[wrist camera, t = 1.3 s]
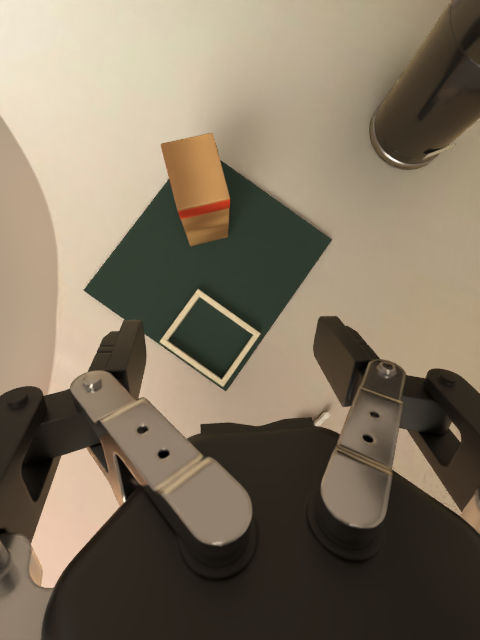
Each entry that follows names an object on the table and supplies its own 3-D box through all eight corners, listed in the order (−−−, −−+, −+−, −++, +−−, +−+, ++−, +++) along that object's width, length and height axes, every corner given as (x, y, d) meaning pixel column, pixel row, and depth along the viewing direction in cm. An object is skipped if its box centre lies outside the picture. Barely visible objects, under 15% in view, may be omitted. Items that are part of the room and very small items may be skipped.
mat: (196, 145, 39) (196, 138, 38) (330, 240, 39) (334, 237, 38) (85, 290, 37) (80, 289, 36) (225, 390, 37) (225, 392, 36)
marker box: (215, 189, 38) (212, 131, 28) (228, 237, 38) (230, 198, 27) (177, 197, 38) (160, 143, 27) (190, 246, 37) (177, 210, 27)
